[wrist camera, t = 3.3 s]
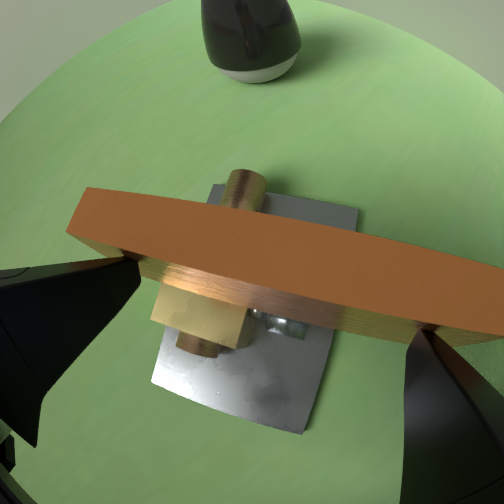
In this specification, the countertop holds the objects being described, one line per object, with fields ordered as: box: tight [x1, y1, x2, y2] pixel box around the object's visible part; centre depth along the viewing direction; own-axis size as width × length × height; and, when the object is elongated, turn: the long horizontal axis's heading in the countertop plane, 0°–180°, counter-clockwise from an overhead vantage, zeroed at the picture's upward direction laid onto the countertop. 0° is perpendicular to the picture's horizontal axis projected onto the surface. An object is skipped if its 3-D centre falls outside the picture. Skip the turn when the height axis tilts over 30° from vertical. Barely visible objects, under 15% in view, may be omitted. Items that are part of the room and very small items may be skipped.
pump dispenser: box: [201, 0, 301, 83], centre depth 21 cm, size 10×10×15 cm
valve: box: [151, 169, 359, 435], centre depth 19 cm, size 17×12×4 cm
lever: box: [66, 187, 504, 347], centre depth 12 cm, size 3×14×12 cm, turn 74°
